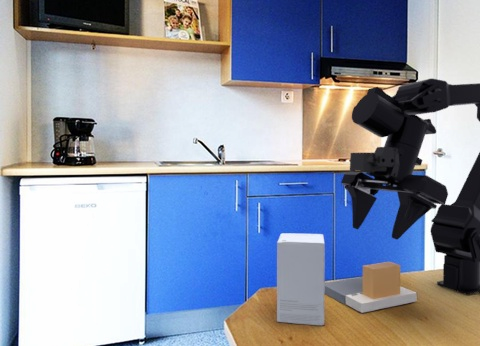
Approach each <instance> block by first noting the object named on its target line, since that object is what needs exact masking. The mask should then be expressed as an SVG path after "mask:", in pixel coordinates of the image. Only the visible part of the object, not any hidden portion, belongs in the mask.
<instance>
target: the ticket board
mask: <svg viewBox="0 0 480 346" xmlns="http://www.w3.org/2000/svg"><path fill="white" fill-rule="evenodd" d="M361 292H363V276H358V277H353V278H346V279H341V280H340V279H339V280H335V281H328V282H325V295H326V296H329V297H330V298H332V299H334V300H335V301H337V302H339V303H341V304H343V305H346V295H350V294H356V293H361Z"/></svg>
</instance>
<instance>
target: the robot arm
mask: <svg viewBox="0 0 480 346" xmlns="http://www.w3.org/2000/svg"><path fill="white" fill-rule="evenodd" d="M397 88H398V89H397V90H396V93H395V94H394V95H393V96H391V95H389V94H387V93H386V92H385V91H384V90H383V89H382V88H380V87H378V86H374V87H372V88H371V87H370V88H368V90H367V92H366V94H365V95H364V96H363V97H362V98H360V100H359V101H358V102H357V104H356V105H354V107H353V110H352V112H351V120H352V122H353V123H354V124H356V125H357V126H359V127H361V128H362V129H364V130H367V131H368V132H370V133H372V134H374V135H375V136H377V137H378V138H386V140H385V143H384V145H383V146H377V147H376V148H375V151H374V152H351V153H350V156H349V159H350V160H349V171H348V172H345V173H343V177H342V179H341V182H340V184H341V185H343V186H344V189H345V190H346V191H348V193H349V195H350V197H351V205H352V206H351V207H352V209H351V210H352V215H351V216H352V228H353V229H355V230H359V229H360V227H361V226H362V225H363V224H364V222H365V220H366V218H367V216H368V215H369V213H370V212H371V209H372V207H373V206H374V204H375V203H376V201H377V197H376V194H378V193H379V191H386V192H392V193H393V192H395V193H397V196H398V197H397V198H398V201H399V206H398V208H397V213H396V216H395V220H394V224H393V227H392V232H391V238H392V239H393V240H399V239H401V237H402V236H403V235H404V234H405V233H406V232H407V231H408V230H409V229H410V228H412V226H413V225H414V224H415V223H416V222H417V221H419V220H420V219H421V218H422V217H423V216H424V215H426V214H428V212H429V211H430V210H432V209H433V210H434V209H435V210H436V209H437V207H438V206H437V205H440V206H439V207H438V209H437V212H436V214H435V216H434V217H433V218H432V220H431V223H432V224H431V227H430V235H431V239H432V242H433V246H434V250H435V253H441V254H444V258H443V259H444V260H443V266H442V267H443V268H442V269H443V270H442V271H443V272H442V273H443V276H442V277H443V278H442V280H439V281H437V282H436V285H438V286H441V287H444V288H446V289H449V290H452V291H455V292H457V293H460V294H463V295H472V294H477V293H480V151H479V153H478V155H477V156H476V157H475V161H474V163H473V165H472V167H471V169H470V171H469V173H468V175H467V178H466V179H465V181H464V183H463V185H462V186H461V189H460V191H459V194H458V196H457V198H456V199H455V201H454V202H453V203H451V204H446V203H447V199H448V196H449V191H448V188H447V186H446V185H445V184H444V183H442V182H439V181H437V180H436V179H433V178H432V177H430V176H428V175H424V174H423V175H422V174H413V173H414V170H415V167H416V166H422V162H423V159H421V158H420V157H419V154H420V151H421V149H422V145H423V143H424V142H423V141H424V139H425V136H426V135H435V134H436V133H437V130H436V126H434V124H433V123H432V119H431V118H426V119H425V118H424V119H423V118H421V117H420V116H419V115H425V114H429V113H431V114H432V113H436V112H440V111H442V110H445V109H447V108H449V107H452V106H455V107H456V106H463V105H464V106H466V105H474V106H475V107H476V119H477V120H478V122H480V83H463V84H462V83H461V84H460V83H459V84H451V83H448V82H447V81H446V80H442V79H438V78H428V79H423V80H418V81H414V82H411V83H406V84H402V85H400V86H399V87H397Z"/></svg>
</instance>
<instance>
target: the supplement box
mask: <svg viewBox="0 0 480 346" xmlns="http://www.w3.org/2000/svg"><path fill="white" fill-rule="evenodd" d="M325 253H326V243H325V236H324V234H322V233H293V232H292V233H289V232H288V233H287V232H286V233H280V235H279V237H278V240H277V241H276V322H278V323H289V324H295V325H297V324H298V325H312V326H324V325H325V295H326V294H325V283H326V281H325V278H326V277H325V276H326V275H325V273H326V272H325V271H326V270H325V269H326V265H325V263H326V258H325V257H326V256H325V255H326V254H325Z"/></svg>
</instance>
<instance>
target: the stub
mask: <svg viewBox="0 0 480 346" xmlns="http://www.w3.org/2000/svg"><path fill="white" fill-rule="evenodd" d="M362 277H363V292H361V293H356V294H350V295H346V304H345V305H346V306H348V307H350V308H352V309H354V310H355V311H357V312H359V313H362V314H363V313H368V312H372V311H377V310H381V309H386V308H391V307H396V306H401V305H406V304H409V303H415V302H417V301H418V300H417V292H415V291H413V290H410V289H408V288H405V287H403V286H401V264H397V263H395V262H392V261H385V262H384V261H383V262H378V263H371V264H364V265H362Z"/></svg>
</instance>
